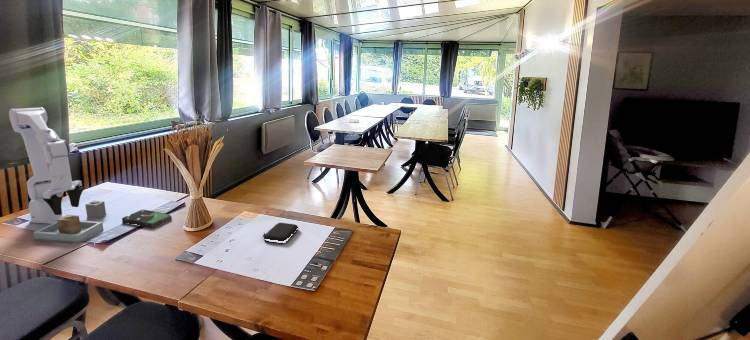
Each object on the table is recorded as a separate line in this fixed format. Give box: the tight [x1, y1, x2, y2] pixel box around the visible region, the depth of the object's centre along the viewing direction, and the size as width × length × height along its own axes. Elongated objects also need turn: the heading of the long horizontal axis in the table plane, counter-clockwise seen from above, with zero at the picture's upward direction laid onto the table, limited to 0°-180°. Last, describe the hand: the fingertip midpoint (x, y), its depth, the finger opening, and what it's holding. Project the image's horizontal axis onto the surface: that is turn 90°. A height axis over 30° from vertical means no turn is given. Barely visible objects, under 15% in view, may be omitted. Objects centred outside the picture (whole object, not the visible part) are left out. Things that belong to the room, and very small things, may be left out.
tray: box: [33, 220, 104, 245], centre depth 142 cm, size 16×12×3 cm
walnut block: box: [57, 214, 81, 234], centre depth 141 cm, size 4×4×6 cm
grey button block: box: [84, 200, 107, 220], centre depth 158 cm, size 4×4×6 cm
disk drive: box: [121, 209, 173, 229], centre depth 157 cm, size 10×3×15 cm
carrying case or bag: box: [262, 222, 299, 241], centre depth 151 cm, size 11×3×15 cm
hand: (66, 210), depth 140 cm, fingers open, 7 cm apart
